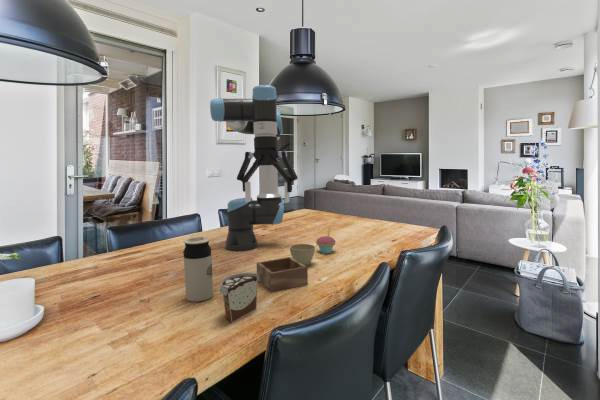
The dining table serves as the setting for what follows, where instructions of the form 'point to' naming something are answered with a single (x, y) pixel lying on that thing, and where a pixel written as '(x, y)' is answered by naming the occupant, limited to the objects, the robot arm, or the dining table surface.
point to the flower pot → (302, 253)
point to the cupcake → (325, 243)
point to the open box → (282, 274)
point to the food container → (239, 295)
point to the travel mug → (198, 269)
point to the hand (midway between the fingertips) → (267, 202)
